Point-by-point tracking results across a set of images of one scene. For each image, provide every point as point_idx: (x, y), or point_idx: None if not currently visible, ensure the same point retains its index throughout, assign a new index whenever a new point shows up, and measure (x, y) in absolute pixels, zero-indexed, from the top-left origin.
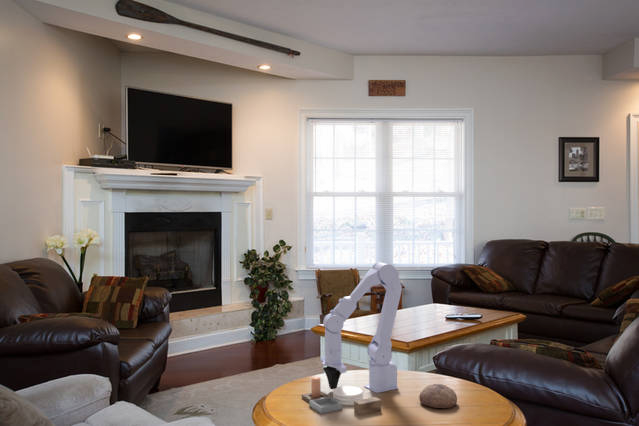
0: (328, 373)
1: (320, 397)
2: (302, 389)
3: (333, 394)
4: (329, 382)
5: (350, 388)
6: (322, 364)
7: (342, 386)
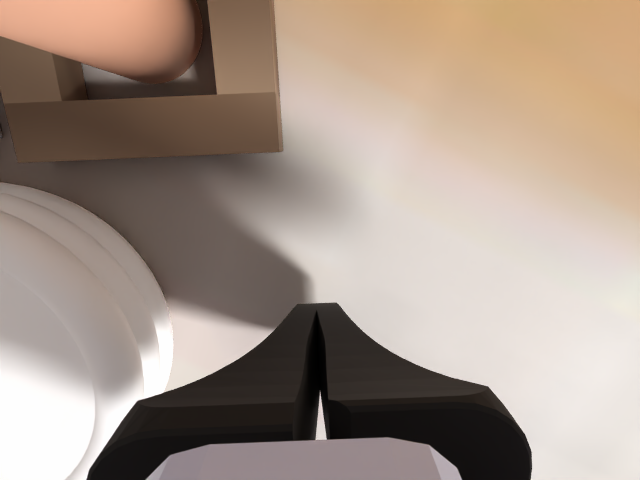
0: (259, 386)
1: None
2: (554, 33)
3: (7, 211)
4: (319, 325)
5: (10, 446)
6: (358, 458)
7: (98, 398)
